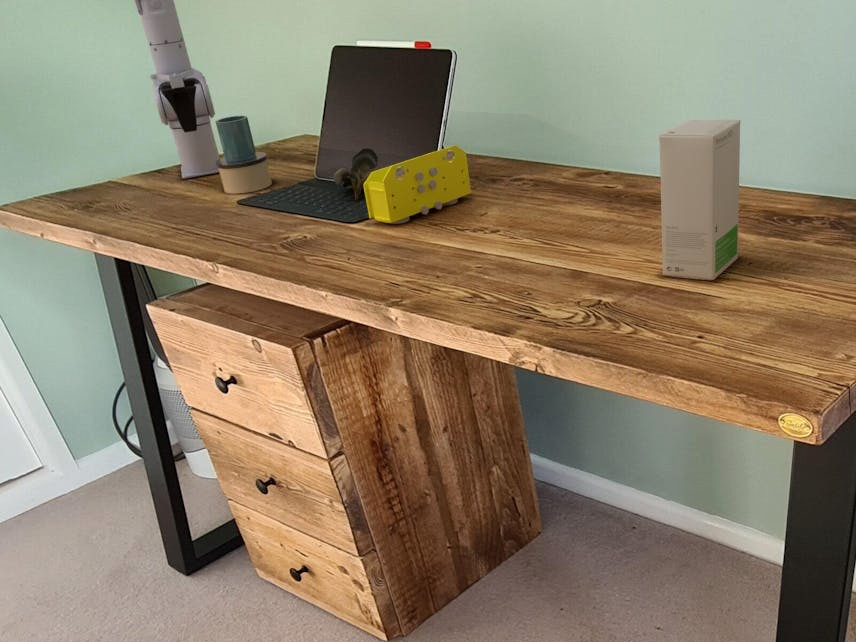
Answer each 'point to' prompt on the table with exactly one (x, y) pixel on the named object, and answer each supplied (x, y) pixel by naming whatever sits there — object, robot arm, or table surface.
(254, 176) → the jar
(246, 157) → the cup
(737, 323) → the table surface
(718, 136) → the cosmetic box
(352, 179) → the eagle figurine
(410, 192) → the yellow toy chassis
